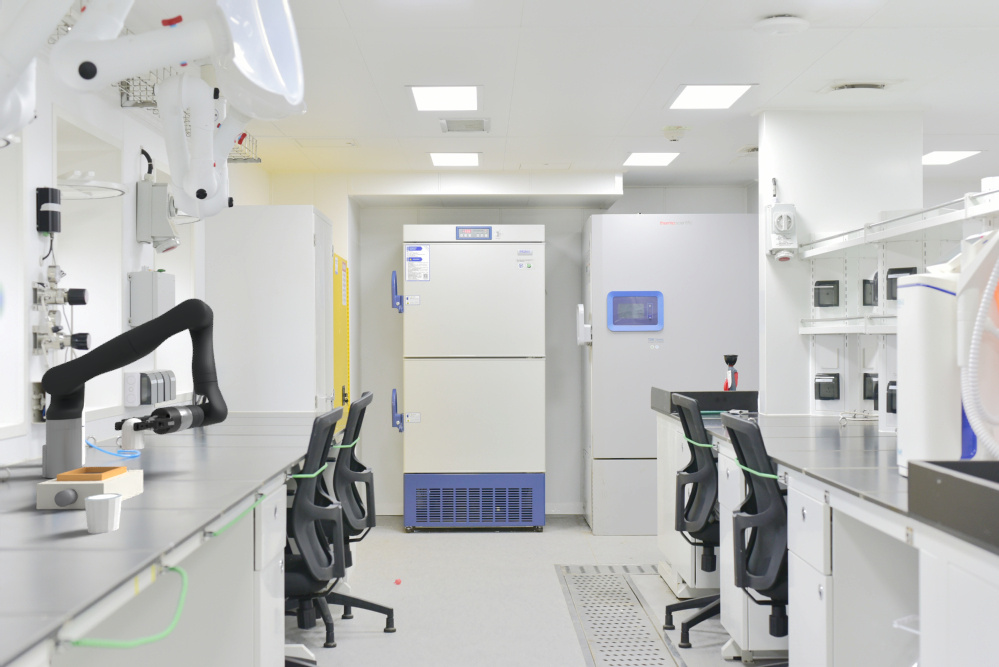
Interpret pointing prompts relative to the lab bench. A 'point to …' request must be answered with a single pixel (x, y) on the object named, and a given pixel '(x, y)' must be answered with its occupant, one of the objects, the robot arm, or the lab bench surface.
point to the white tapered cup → (103, 512)
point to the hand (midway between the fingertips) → (125, 426)
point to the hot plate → (88, 486)
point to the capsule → (132, 436)
